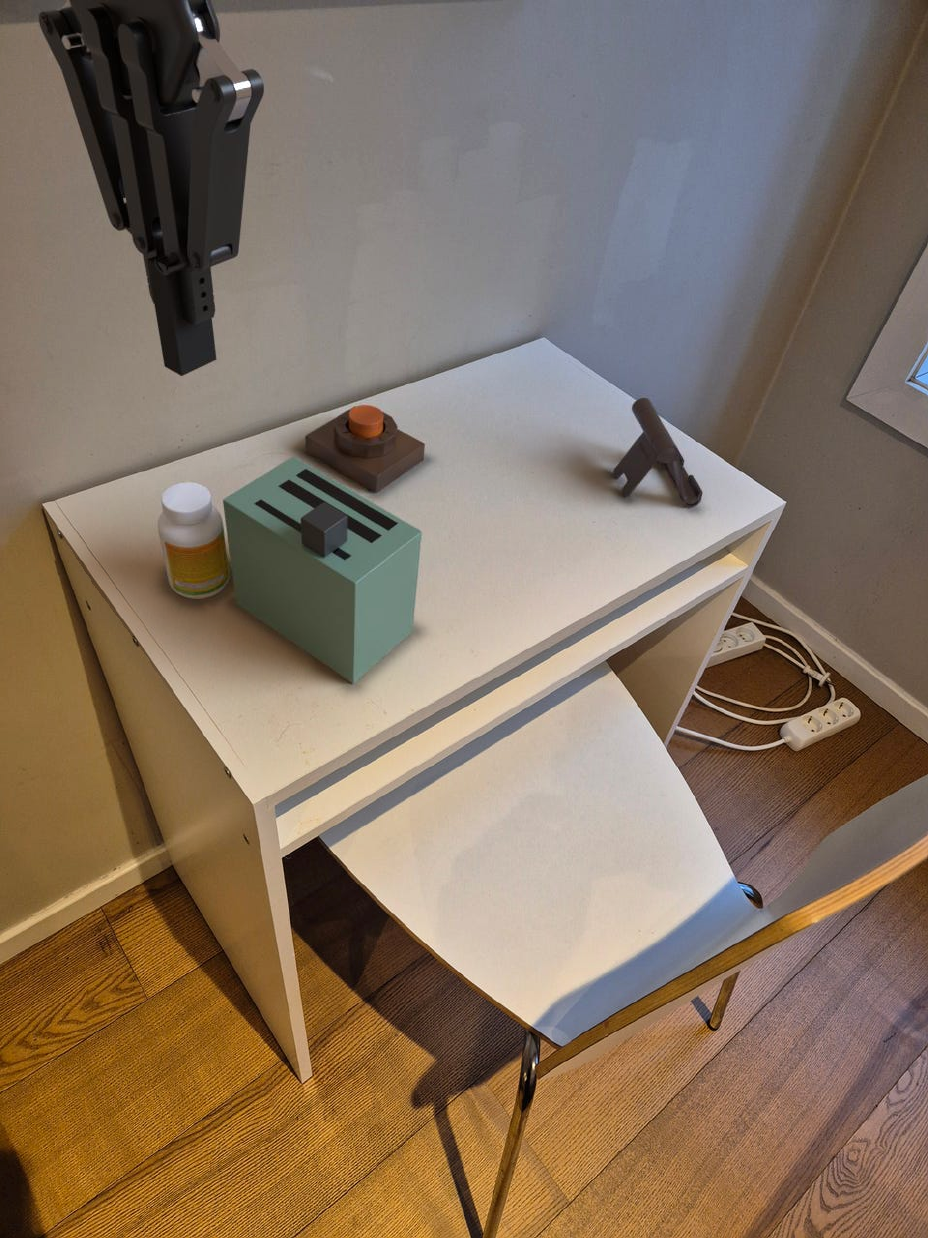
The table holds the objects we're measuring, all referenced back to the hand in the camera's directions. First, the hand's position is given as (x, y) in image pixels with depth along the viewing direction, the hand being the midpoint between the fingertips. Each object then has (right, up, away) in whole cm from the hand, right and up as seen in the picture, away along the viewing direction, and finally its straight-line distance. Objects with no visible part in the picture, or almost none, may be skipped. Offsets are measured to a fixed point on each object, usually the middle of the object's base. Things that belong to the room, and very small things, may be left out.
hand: (190, 362), depth 52 cm
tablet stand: (+37, -1, +44) cm, 58 cm away
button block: (+6, +2, +42) cm, 42 cm away
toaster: (+4, -15, +25) cm, 30 cm away
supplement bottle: (-8, -12, +27) cm, 31 cm away
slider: (+6, -10, +14) cm, 18 cm away
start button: (+6, +5, +39) cm, 40 cm away
